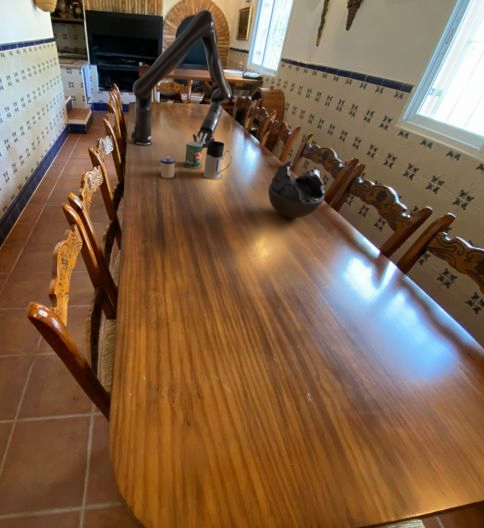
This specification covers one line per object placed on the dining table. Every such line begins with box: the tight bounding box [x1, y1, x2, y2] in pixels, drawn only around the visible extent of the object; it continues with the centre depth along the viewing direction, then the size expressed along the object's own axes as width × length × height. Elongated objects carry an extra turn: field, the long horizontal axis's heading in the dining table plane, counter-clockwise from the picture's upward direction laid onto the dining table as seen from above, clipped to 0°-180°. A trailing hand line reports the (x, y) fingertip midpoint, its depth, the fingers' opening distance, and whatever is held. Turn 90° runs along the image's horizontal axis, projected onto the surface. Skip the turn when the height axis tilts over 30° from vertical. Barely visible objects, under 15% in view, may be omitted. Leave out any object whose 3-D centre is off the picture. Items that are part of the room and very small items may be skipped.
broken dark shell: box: [267, 161, 325, 219], centre depth 111 cm, size 20×20×19 cm
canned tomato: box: [184, 140, 203, 169], centre depth 150 cm, size 8×8×11 cm
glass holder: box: [202, 140, 233, 180], centre depth 138 cm, size 9×14×15 cm, turn 44°
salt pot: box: [160, 155, 176, 179], centre depth 139 cm, size 7×7×9 cm
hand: (197, 153), depth 153 cm, fingers closed
